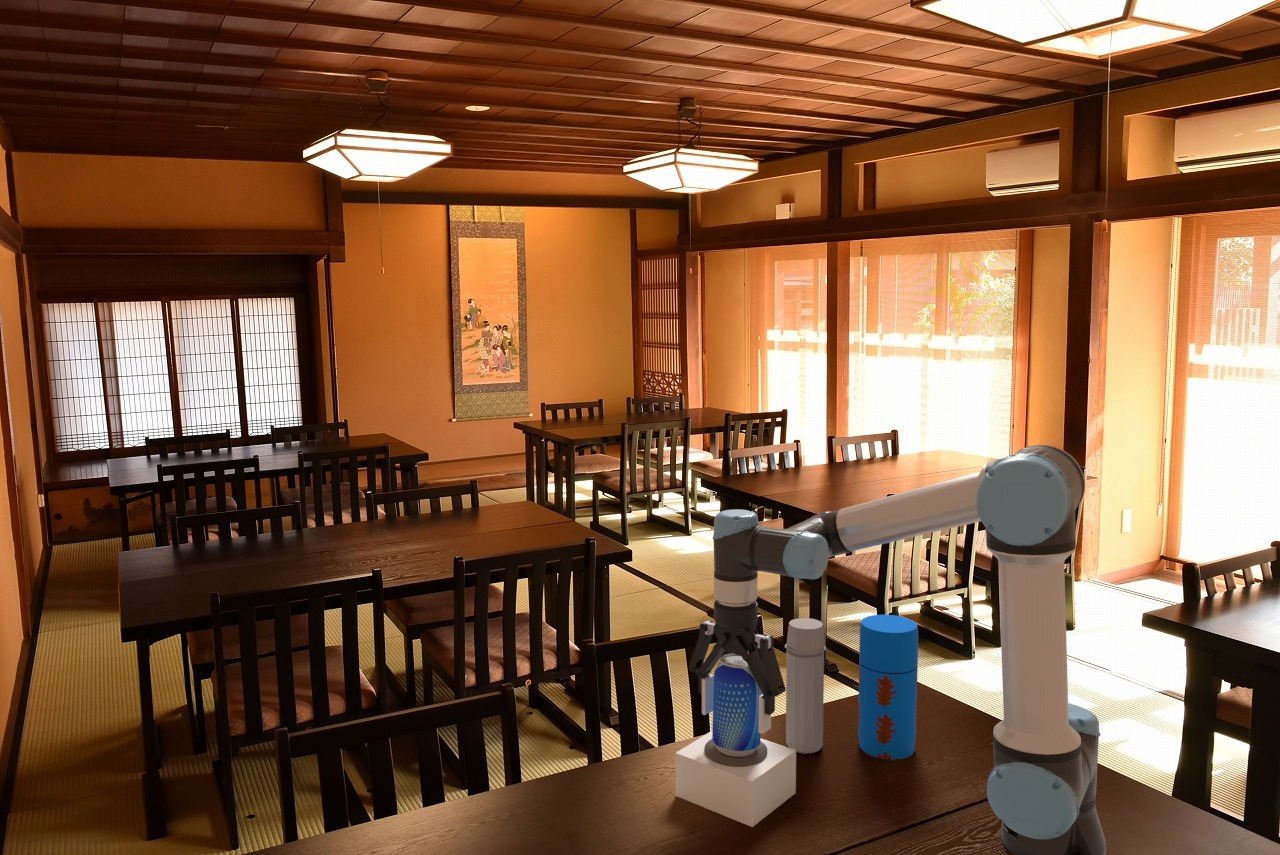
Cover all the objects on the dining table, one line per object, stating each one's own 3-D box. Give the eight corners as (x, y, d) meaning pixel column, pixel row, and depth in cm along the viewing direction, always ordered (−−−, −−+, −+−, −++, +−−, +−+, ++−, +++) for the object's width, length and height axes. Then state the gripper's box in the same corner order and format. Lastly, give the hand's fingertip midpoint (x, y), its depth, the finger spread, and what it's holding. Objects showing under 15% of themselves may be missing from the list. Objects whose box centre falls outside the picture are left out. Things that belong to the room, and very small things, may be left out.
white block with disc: (795, 792, 163) (796, 747, 162) (752, 827, 152) (752, 778, 151) (721, 765, 173) (721, 722, 172) (675, 795, 163) (675, 750, 162)
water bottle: (824, 757, 176) (826, 631, 173) (783, 754, 177) (783, 628, 174) (824, 735, 185) (826, 615, 182) (785, 732, 186) (786, 613, 183)
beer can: (704, 751, 160) (706, 662, 158) (723, 733, 167) (725, 648, 166) (749, 763, 156) (752, 672, 154) (766, 744, 163) (770, 656, 162)
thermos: (856, 756, 176) (858, 630, 173) (859, 731, 186) (861, 612, 183) (915, 763, 173) (918, 635, 170) (915, 738, 183) (918, 617, 180)
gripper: (807, 607, 154) (806, 732, 156) (693, 582, 169) (694, 696, 171) (783, 619, 148) (782, 748, 151) (668, 592, 163) (669, 710, 166)
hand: (735, 721), depth 161 cm, fingers open, 11 cm apart
